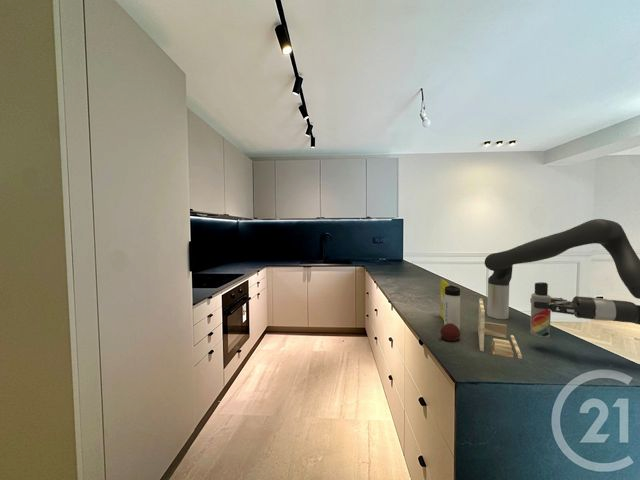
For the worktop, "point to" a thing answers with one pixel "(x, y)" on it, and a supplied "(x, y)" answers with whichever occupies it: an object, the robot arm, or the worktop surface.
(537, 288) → the lotion bottle
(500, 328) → the rack
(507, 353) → the offcut
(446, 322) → the travel mug
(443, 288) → the food package
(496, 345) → the offcut
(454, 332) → the potato
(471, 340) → the worktop surface
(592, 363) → the worktop surface
